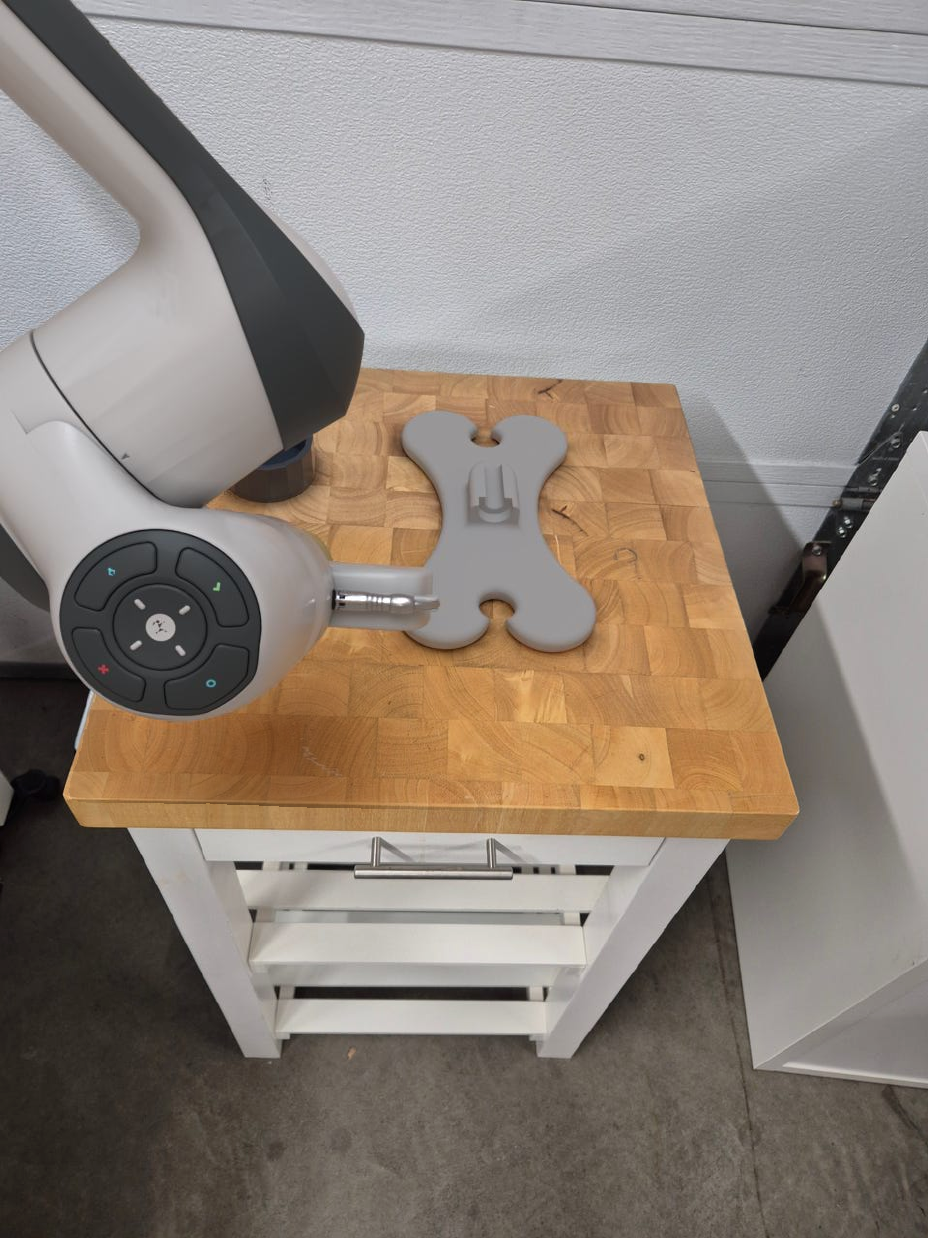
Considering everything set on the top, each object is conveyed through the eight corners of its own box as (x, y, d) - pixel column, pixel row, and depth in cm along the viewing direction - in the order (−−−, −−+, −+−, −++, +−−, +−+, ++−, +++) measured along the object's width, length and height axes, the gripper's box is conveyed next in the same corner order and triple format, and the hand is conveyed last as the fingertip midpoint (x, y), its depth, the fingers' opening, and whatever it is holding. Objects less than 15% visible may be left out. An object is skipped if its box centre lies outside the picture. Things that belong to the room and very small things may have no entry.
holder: (561, 427, 98) (569, 392, 94) (599, 656, 76) (611, 623, 72) (402, 419, 96) (403, 383, 92) (395, 651, 75) (395, 616, 71)
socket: (214, 499, 85) (207, 465, 82) (232, 439, 91) (226, 406, 88) (308, 505, 86) (306, 472, 82) (320, 445, 92) (318, 413, 88)
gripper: (445, 550, 45) (439, 546, 59) (64, 523, 44) (149, 526, 57) (437, 663, 45) (433, 633, 59) (61, 640, 44) (146, 615, 58)
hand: (291, 580), depth 58 cm, fingers closed on light bulb, 6 cm apart
